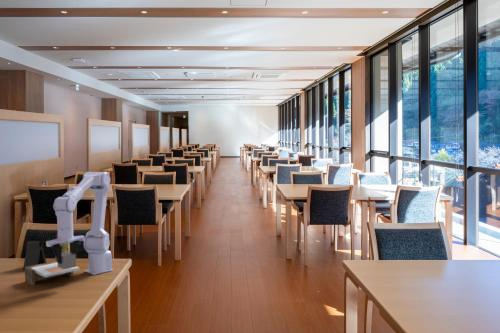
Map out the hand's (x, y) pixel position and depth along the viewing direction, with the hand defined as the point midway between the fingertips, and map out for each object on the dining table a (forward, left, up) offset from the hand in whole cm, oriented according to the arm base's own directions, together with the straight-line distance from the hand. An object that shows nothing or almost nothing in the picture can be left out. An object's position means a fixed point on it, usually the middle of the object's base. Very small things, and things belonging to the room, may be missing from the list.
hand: (66, 261), depth 180 cm
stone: (0, 0, -2) cm, 2 cm away
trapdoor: (0, -11, -5) cm, 12 cm away
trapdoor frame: (0, -17, -10) cm, 20 cm away
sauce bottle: (-15, -38, -11) cm, 42 cm away
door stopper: (-3, -40, -11) cm, 41 cm away
